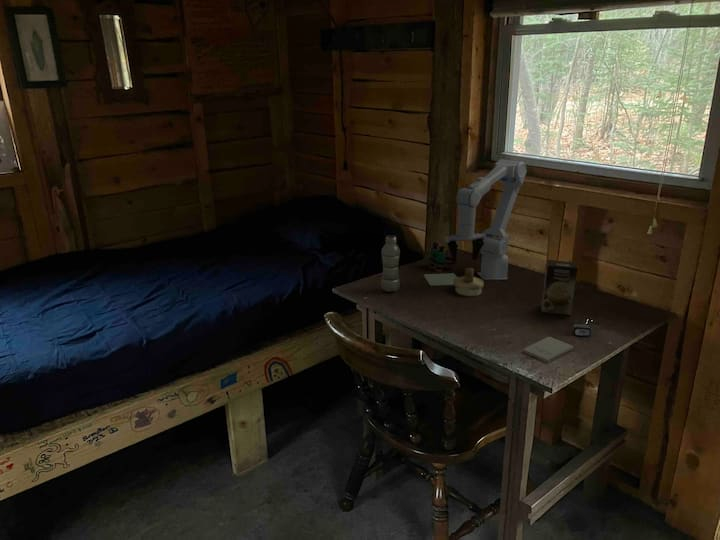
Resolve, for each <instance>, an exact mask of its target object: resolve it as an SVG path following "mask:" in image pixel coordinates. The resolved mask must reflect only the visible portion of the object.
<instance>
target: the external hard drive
mask: <svg viewBox="0 0 720 540" xmlns="http://www.w3.org/2000/svg"><path fill="white" fill-rule="evenodd" d="M573 350H574V346H573V345H572V344H570V343H568V342H567V343H566V342H565V341H562V340H559V339H557V338H553V337H551V336H547V337H545V338H543V339H541V340H539V341H537V342H535V343H533V344H531V345H528V346H527V347H525V348H523V349H522V350H521V353H524V354H526V355H528V356H531V357H534V358H536V359H538V360H539V361H542V362H544V363H547V364H548V363H550V362H552V361H554V360H556V359H558V358H560V357H562V356H564V355H566V354H567V352H568V353H569V351H570V352H571V351H573ZM565 353H566V354H565Z"/></svg>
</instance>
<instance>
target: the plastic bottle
mask: <svg viewBox="0 0 720 540" xmlns="http://www.w3.org/2000/svg"><path fill="white" fill-rule="evenodd" d="M380 252H381V259H382V276H381V283H380V285H381V289H382V290H383V291H384V292H387V293H394V292H397V291H398V290H399V289H400V284H401V282H400V277H399V275H400V274H399V266H400V265H399V264H400V263H399V261H400V258H401V257H400V255H401V250H400V247H399V246H398V244H397V235H393V234H391V235H389V234H388V235H386V236H385V244H384V245H383V247H382V248H381V251H380Z"/></svg>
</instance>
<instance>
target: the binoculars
mask: <svg viewBox="0 0 720 540" xmlns="http://www.w3.org/2000/svg"><path fill="white" fill-rule="evenodd" d="M444 250H445V246H439V243H438V242H434V241H433V242H432V247H431V249H430V254H429V259H428V260H429V265H428V268H429V269H434V271H435V272H437V273H439V272H440V273H441V272H442V271H447V272H448V271H452V269H453V267H451V265H453V266H454V265H456V263H457V261H456V262H453V261H452V257H449V256H446V255H447V254H446V252H447V251H444ZM448 265H450V266H448Z"/></svg>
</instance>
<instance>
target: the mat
mask: <svg viewBox="0 0 720 540" xmlns="http://www.w3.org/2000/svg"><path fill="white" fill-rule="evenodd" d="M422 276H424V278H425V280H426V281H427V283H428V284H429V286H431V287H433V286H454V284H453V282H454V279H455V278H457V277H458V276H457V275H456V274H455V273H454V272H452V273H425V274H423V275H422Z"/></svg>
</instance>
